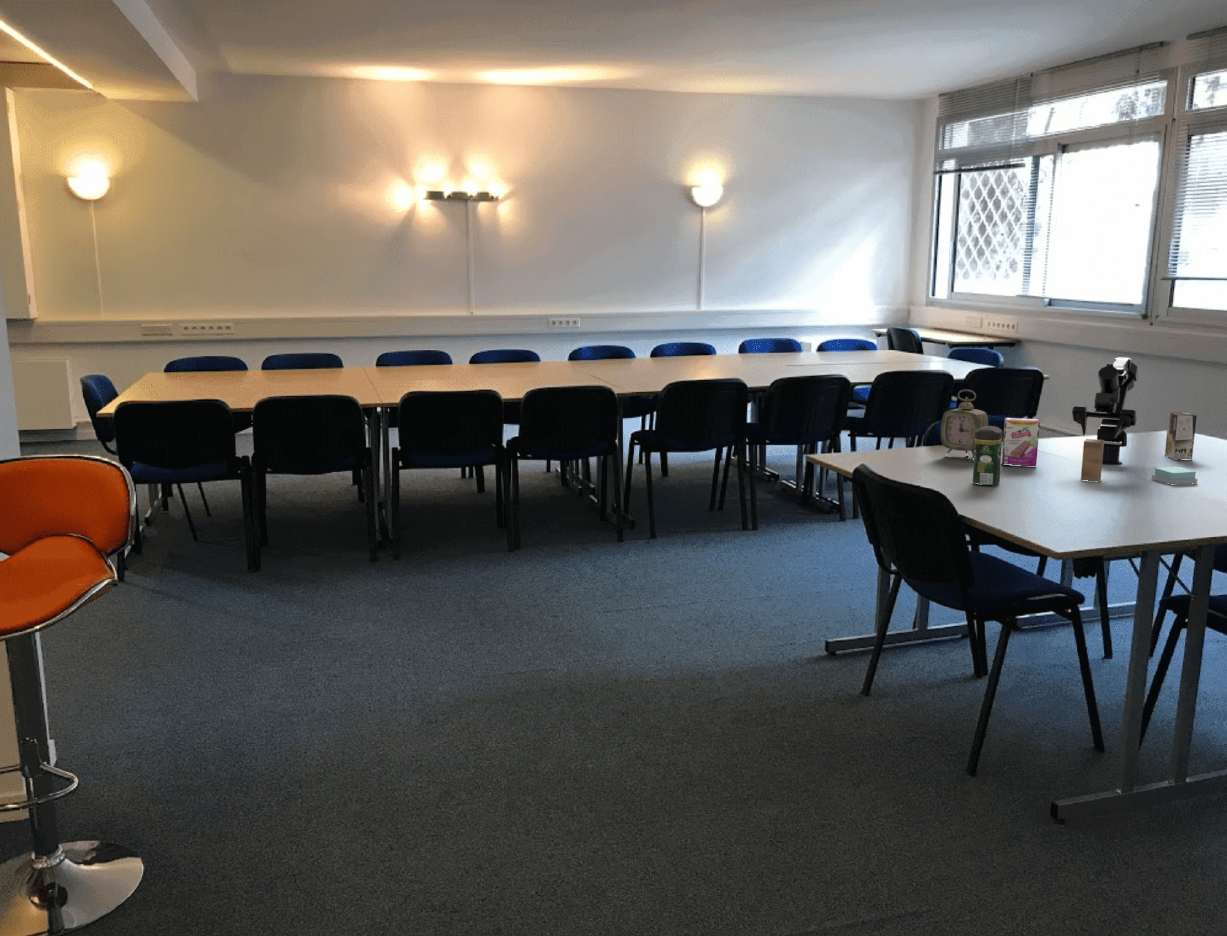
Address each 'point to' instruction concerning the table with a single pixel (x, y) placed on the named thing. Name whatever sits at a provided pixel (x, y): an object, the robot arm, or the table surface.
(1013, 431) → the candy bar box
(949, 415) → the tabletop clock
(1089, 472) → the walnut pillar
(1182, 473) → the tower top block
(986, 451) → the coffee jar
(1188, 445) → the coffee box
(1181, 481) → the tower base block
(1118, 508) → the table surface
